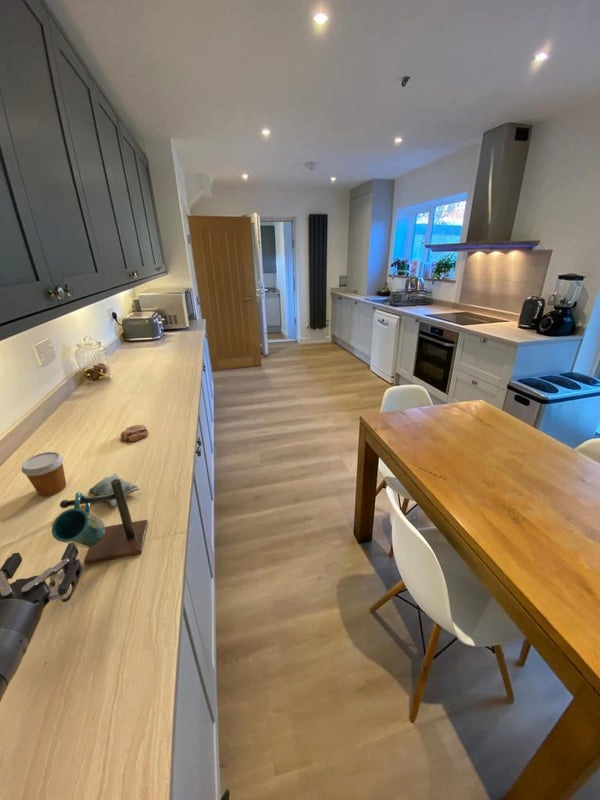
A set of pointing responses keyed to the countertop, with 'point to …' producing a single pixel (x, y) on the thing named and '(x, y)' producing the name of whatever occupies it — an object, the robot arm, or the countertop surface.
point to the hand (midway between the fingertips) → (46, 551)
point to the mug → (78, 526)
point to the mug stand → (115, 529)
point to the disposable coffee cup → (45, 473)
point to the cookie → (134, 433)
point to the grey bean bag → (106, 488)
